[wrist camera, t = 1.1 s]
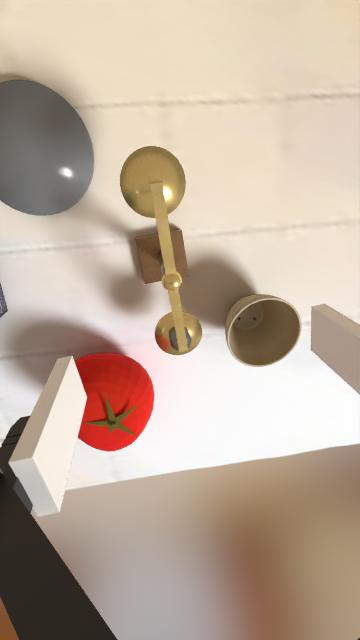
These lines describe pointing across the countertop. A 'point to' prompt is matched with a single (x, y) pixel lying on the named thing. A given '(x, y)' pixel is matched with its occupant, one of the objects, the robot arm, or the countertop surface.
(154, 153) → the balance
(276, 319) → the flower pot
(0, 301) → the small box
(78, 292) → the countertop surface
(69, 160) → the dish
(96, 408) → the tomato
